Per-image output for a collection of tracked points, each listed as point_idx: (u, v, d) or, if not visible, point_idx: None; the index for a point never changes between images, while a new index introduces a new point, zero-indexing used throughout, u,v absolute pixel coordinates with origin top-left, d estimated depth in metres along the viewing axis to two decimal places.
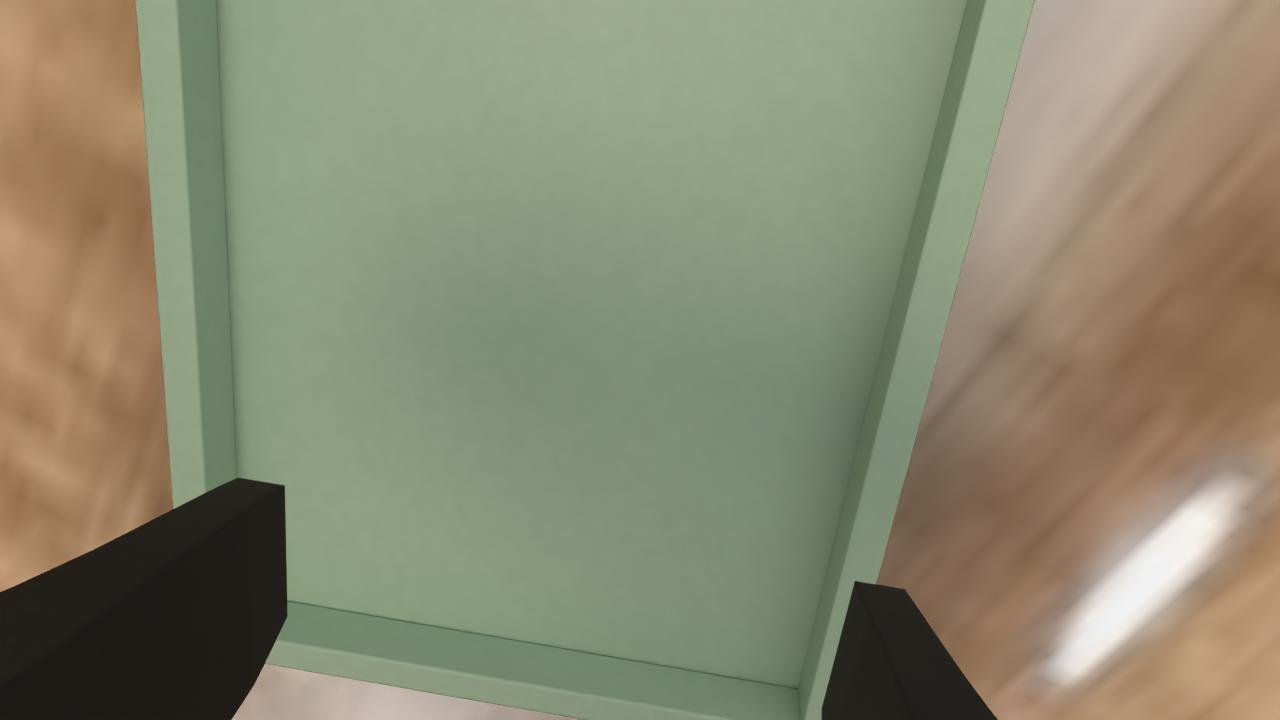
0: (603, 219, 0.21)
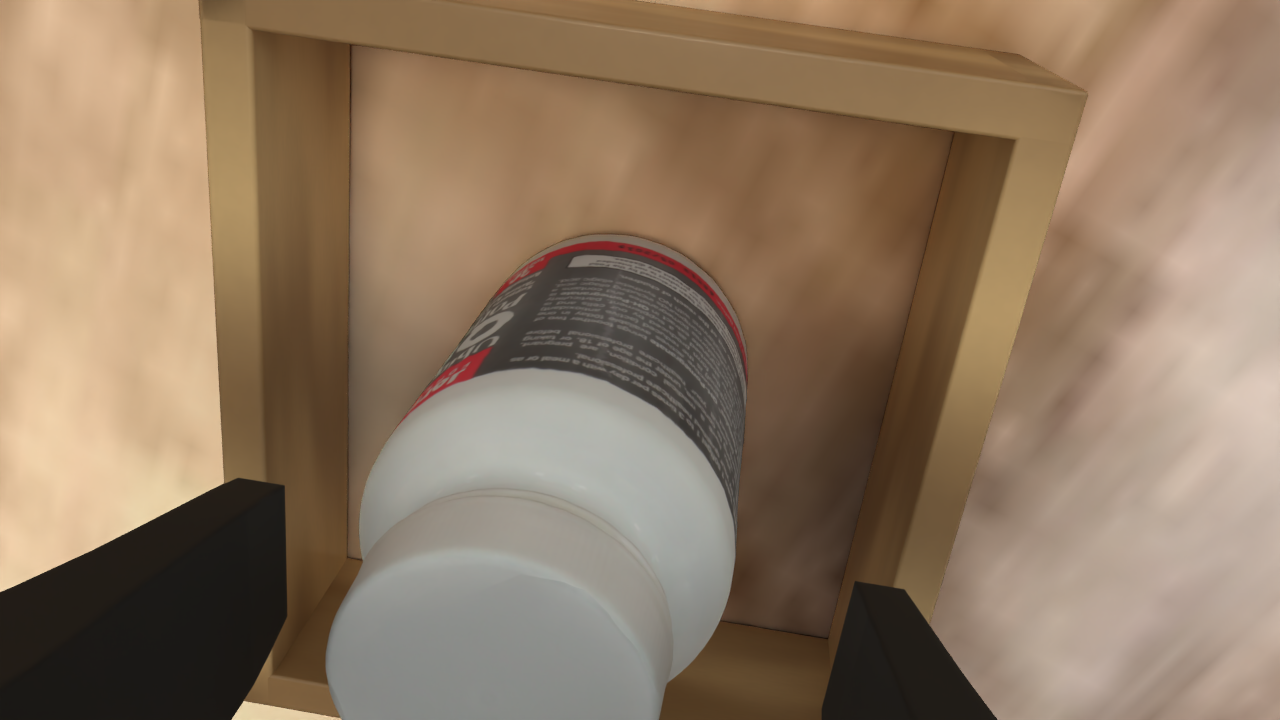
0: None
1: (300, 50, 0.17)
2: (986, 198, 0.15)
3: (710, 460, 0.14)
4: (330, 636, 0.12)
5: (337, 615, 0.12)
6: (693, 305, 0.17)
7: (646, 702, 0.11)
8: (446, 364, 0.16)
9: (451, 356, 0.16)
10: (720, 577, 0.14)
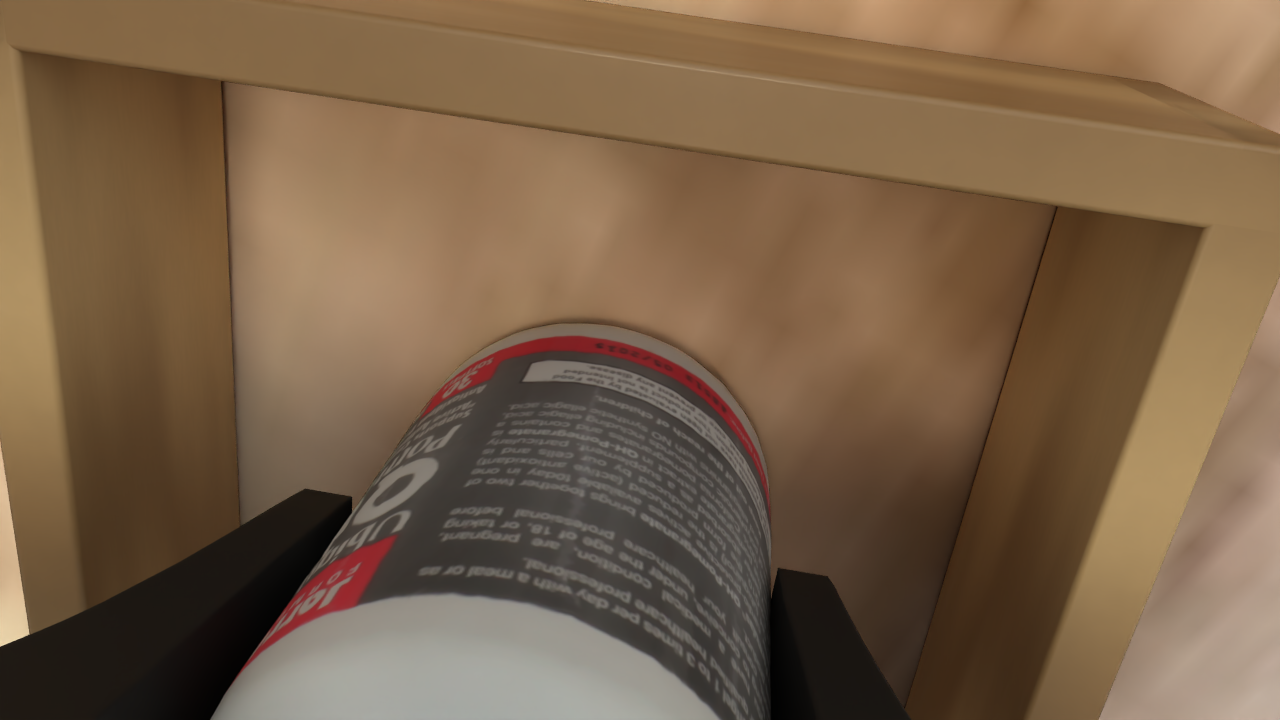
0: None
1: (123, 77, 0.11)
2: (1143, 307, 0.10)
3: None
4: None
5: None
6: (700, 436, 0.12)
7: None
8: (335, 545, 0.10)
9: (346, 526, 0.11)
10: None
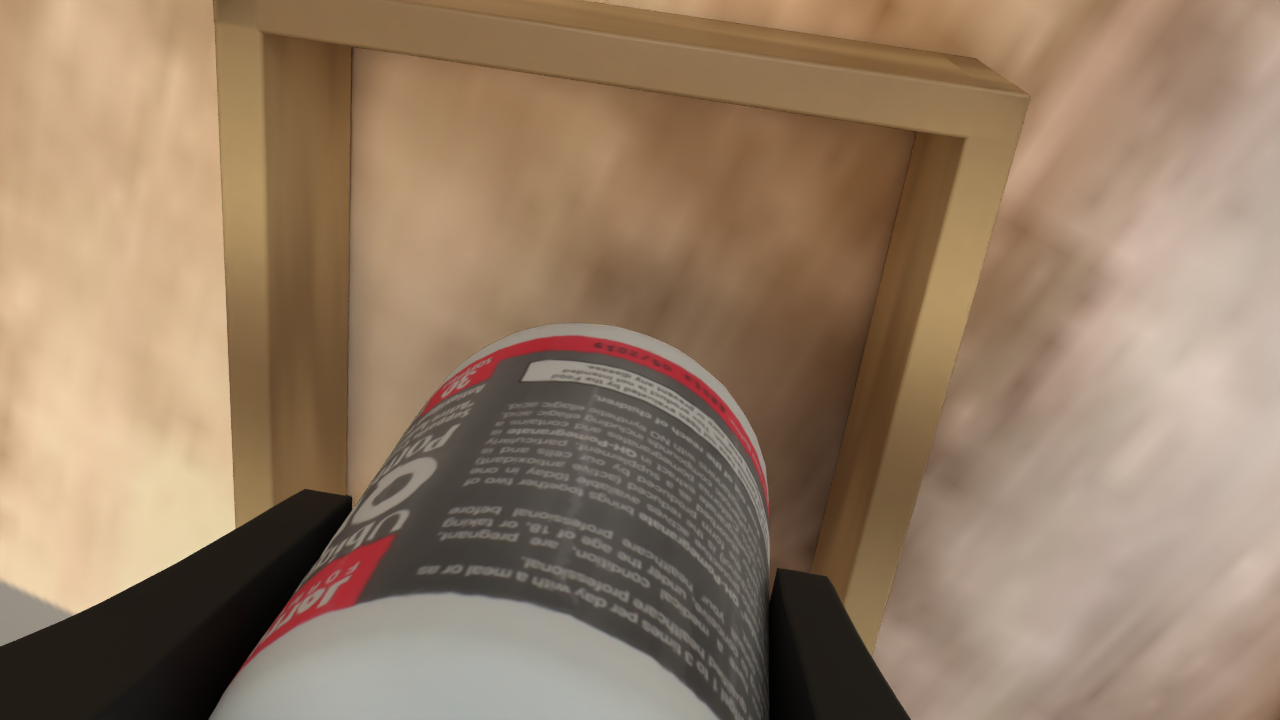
0: None
1: (306, 51, 0.18)
2: (941, 192, 0.17)
3: None
4: None
5: None
6: (698, 436, 0.12)
7: None
8: (333, 545, 0.10)
9: (345, 525, 0.11)
10: None
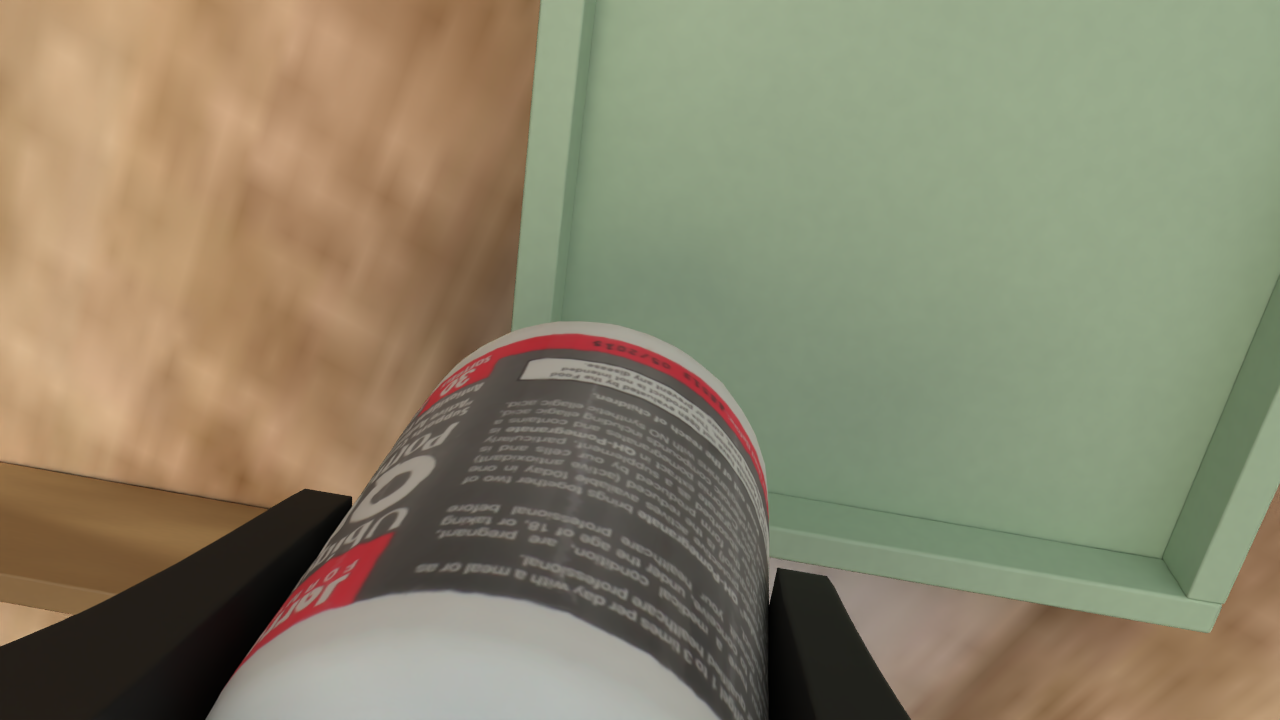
0: (1032, 5, 0.19)
1: None
2: None
3: None
4: None
5: None
6: (698, 433, 0.12)
7: None
8: (332, 543, 0.10)
9: (344, 523, 0.11)
10: None
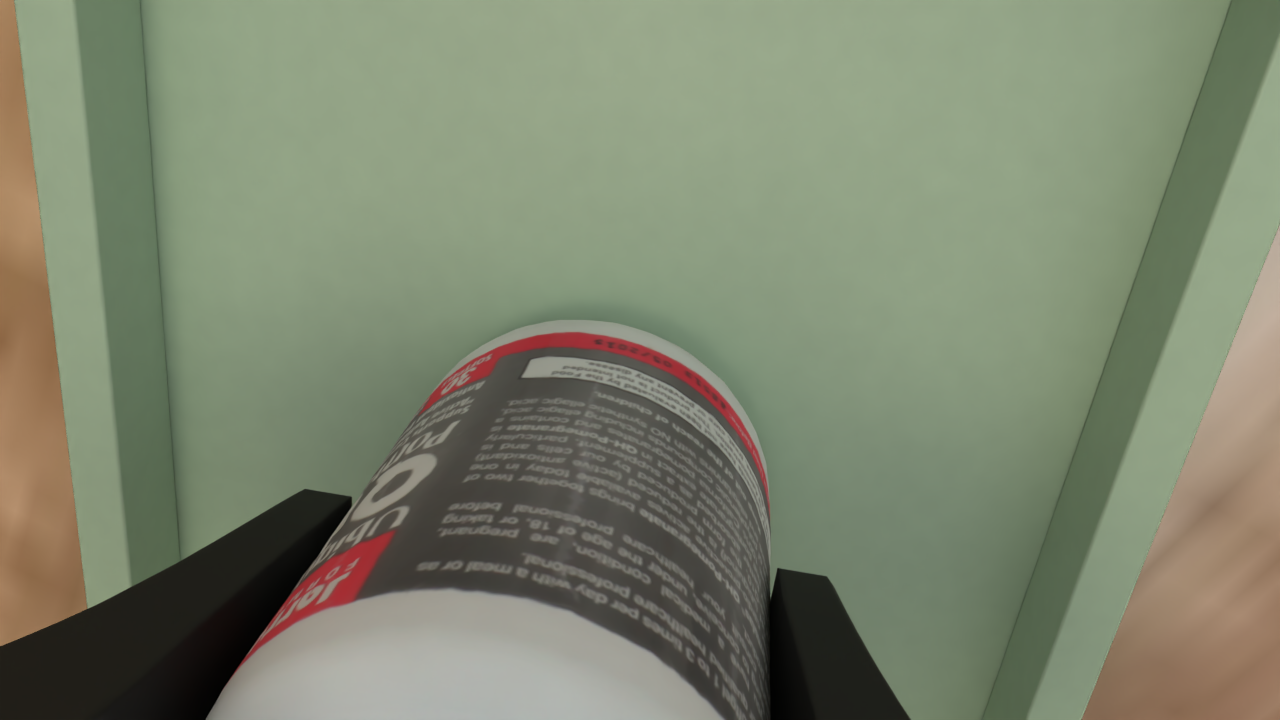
0: None
1: None
2: None
3: None
4: None
5: None
6: (699, 432, 0.12)
7: None
8: (333, 541, 0.10)
9: (345, 522, 0.11)
10: None
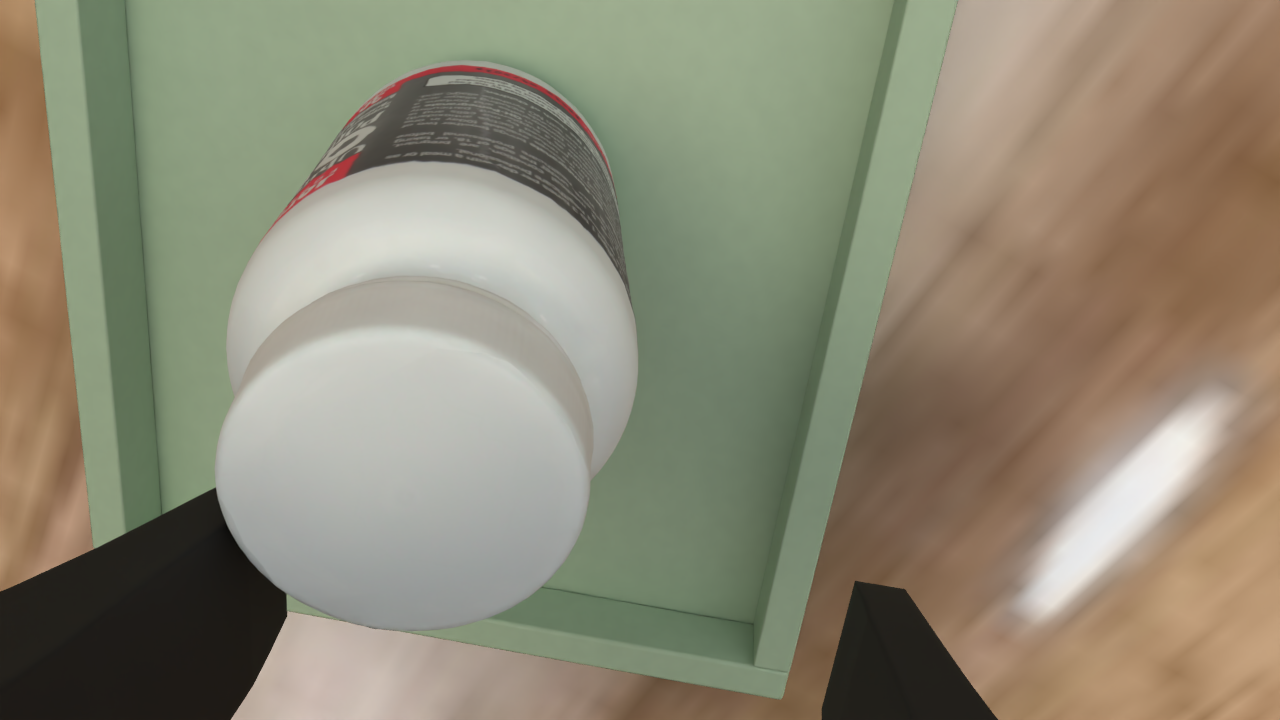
0: None
1: None
2: None
3: (608, 254, 0.13)
4: (220, 446, 0.10)
5: (226, 420, 0.10)
6: (563, 123, 0.17)
7: (577, 481, 0.11)
8: (306, 182, 0.14)
9: (308, 177, 0.15)
10: (628, 372, 0.13)
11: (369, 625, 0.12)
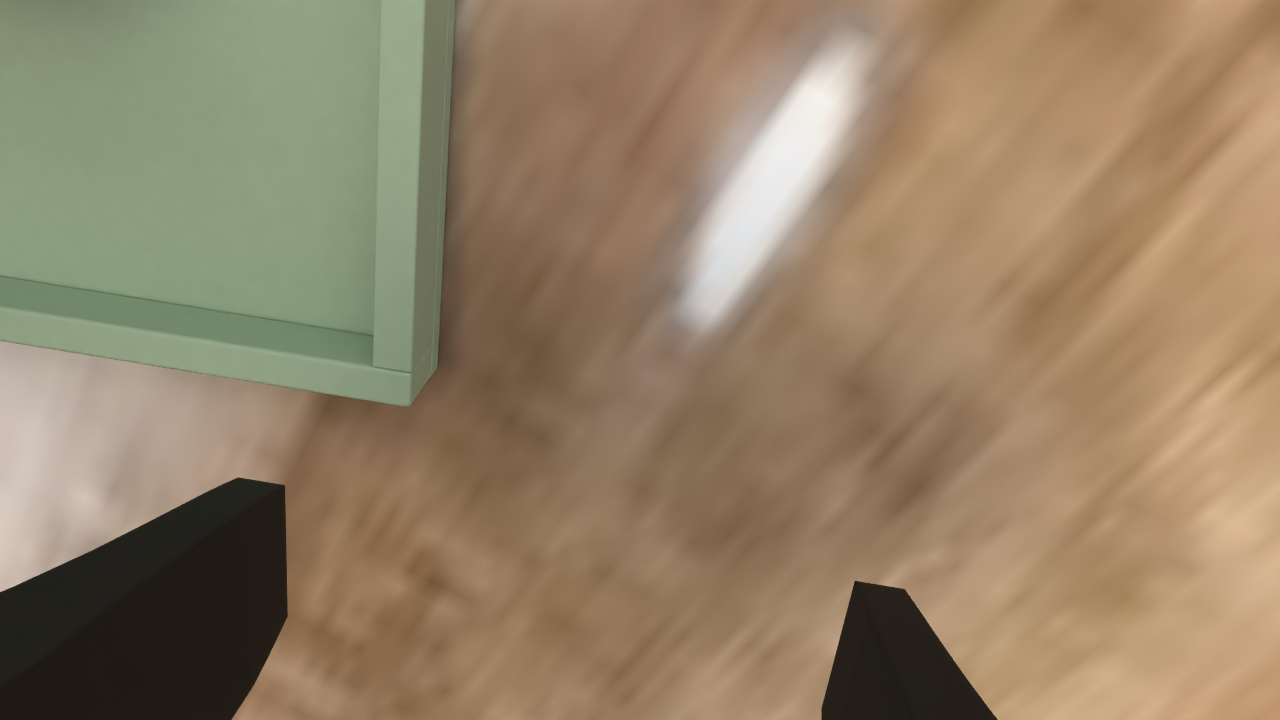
0: None
1: None
2: None
3: None
4: None
5: None
6: None
7: None
8: None
9: None
10: None
11: None
